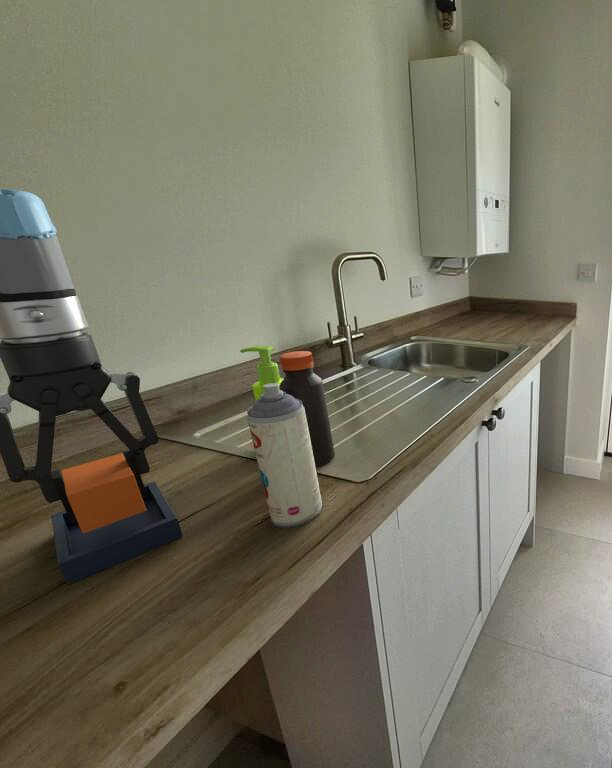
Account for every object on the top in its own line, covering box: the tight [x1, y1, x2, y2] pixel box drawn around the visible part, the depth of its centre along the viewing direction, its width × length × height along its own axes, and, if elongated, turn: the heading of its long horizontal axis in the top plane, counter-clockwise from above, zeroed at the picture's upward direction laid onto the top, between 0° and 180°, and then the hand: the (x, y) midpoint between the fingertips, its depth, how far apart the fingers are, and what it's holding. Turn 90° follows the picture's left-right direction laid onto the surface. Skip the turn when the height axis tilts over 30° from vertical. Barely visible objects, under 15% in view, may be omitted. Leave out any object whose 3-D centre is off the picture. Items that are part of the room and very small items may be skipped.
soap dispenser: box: [239, 345, 285, 402], centre depth 77 cm, size 6×7×20 cm
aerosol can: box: [246, 383, 324, 529], centre depth 57 cm, size 7×7×20 cm
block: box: [60, 452, 146, 534], centre depth 54 cm, size 9×6×6 cm, turn 49°
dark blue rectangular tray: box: [50, 480, 184, 586], centre depth 55 cm, size 14×11×3 cm
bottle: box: [279, 350, 335, 467], centre depth 72 cm, size 7×7×20 cm
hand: (110, 506), depth 54 cm, fingers closed on block, 6 cm apart
